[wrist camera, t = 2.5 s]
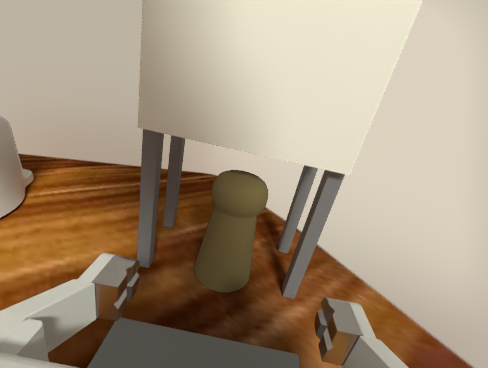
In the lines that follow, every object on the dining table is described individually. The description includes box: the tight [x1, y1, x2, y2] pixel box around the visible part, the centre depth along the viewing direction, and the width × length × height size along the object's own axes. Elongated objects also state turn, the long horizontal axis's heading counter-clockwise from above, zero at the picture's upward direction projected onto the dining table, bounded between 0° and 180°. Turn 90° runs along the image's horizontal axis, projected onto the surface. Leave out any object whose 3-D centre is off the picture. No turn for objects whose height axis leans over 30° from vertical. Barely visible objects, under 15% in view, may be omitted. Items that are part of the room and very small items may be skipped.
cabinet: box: [137, 0, 423, 299], centre depth 23 cm, size 10×16×29 cm, turn 86°
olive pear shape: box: [194, 170, 268, 292], centre depth 24 cm, size 6×6×11 cm
